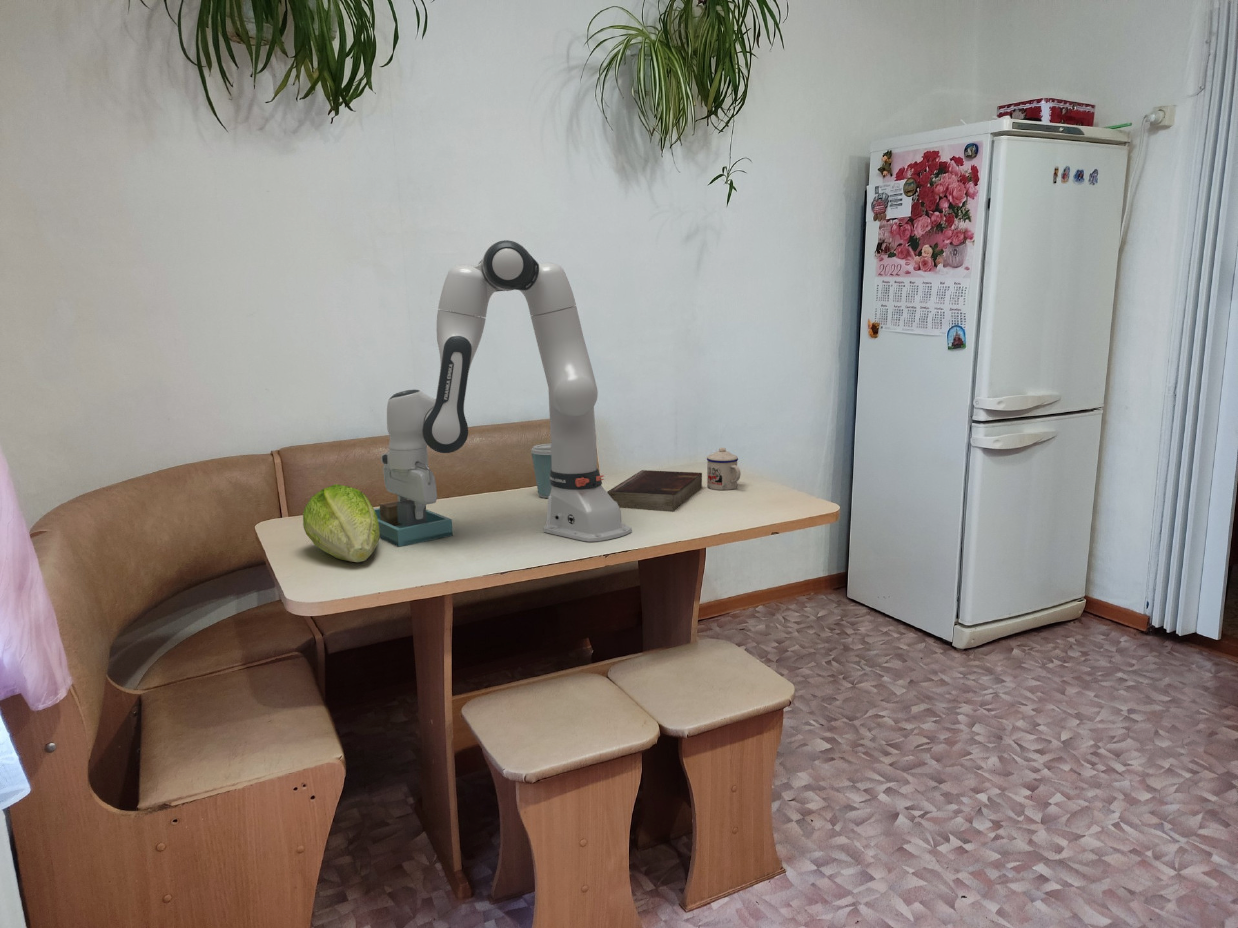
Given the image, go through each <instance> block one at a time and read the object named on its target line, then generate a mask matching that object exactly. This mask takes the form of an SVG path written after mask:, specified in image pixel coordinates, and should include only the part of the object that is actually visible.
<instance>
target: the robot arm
mask: <svg viewBox="0 0 1238 928" xmlns="http://www.w3.org/2000/svg"><path fill="white" fill-rule="evenodd" d="M514 290H515V291H519V292H521V293H522V295H523V296H524V298H525V301H526V303H527V306H528V310H529V311H528V312H529V314H530V315H529V316H530V320H531V323H532V327H533V331H534V335H535V339H536V343H537V347H538V352H539V355H540V358H541V363H542V367H543V371H544V372H543V373H544V377H545V380H546V384H547V387H548V406H549V411H548V412H549V428H550V429H549V430H550V443H551V461H552V469H551V470H550V484H551V485H552V489H551V492H550V495H549V497H548V498H547V508H546V524H545V525H544V526H543V527H542V528H543V530H542V531H543V533H547V534H551V535H556V536H560V537H564V538H569V539H573V540H577V541H583V542H602V541H607V540H612V539H616V538H620V537H624V536H626V535H628V534H630V533H632V527H631V526H630V525H628V524H625V523H623V522H622V513H621V508H619V506H618V503H617V502H616V501H614V500H613V499H612V498H611V497H610V495H609V494H608V493H607V491H606V489H605V488H604V487H603V481H604V480H605V478H604V477H605V475H604V474H602V475H601V473H600V470H599V469H598V467H597V466H598V465H597V464H598V462H597V454H598V453H597V452H598V451H597V431H596V420H595V405H596V403H597V401H598V395H599V394H598V393H599V391H598V386H597V382H596V378H595V375H594V371H593V367H592V363H591V359H590V356H589V352H588V349H587V345H586V342H585V338H584V334H583V328H582V324H581V321H580V320H581V319H580V316H579V312H578V308H577V307H578V306H577V303H576V300H575V295H574V292H573V290H572V287H571V284H570V282H569V279H568V276H567V274H566V272H565V270H564V268H562V266H560V265H559V264H557V263H553V262H543V263H538V261H537V260H536V259H535V258H534V257H533V256H532V255H531V254H530V253H529V251H528V250H527V249H526V248H525V247H524V246H523V245H522V244H519V242H516V241H513V240H510V239H508V240H507V239H505V240H501V241H497V242H495V243H493V244H491V246H489V247H488V248H487V249H486V251H485V252H484V254H483V257H482V259H481V260H480V261H479V263H478V264H476V265H472V264H471V265H470V264H458V265H455V266H453V267H452V268H450V269H449V271H448V272H447V274H446V277H445V280H444V282H443V285H442V289H441V293H440V297H439V301H438V307H437V315H436V342H437V345H438V347H437V348H438V351H439V360H440V367H439V368H440V370H439V376H438V377H439V378H438V385H437V389H436V390H437V391H436V397H435V398H433V397H431V396H429V395H427V394H425V393H424V392H423V391H421V390H420V389H408V390H403V391H399V392H396V393H395V394H393V395H391V397H389V399H388V401H387V405H386V426H387V427H386V428H387V433H388V435H389V443H388V452H385V453H383V454H381V456H380V460H381V464H383V466H382V469H383V470H382V472H383V482H384V487H385V489H386V491H387V492H389V493H390V494H394V495H397V500H398V501H399V502H400V501H406V500H412V501H414V505H415V506H416V507H415V511H413V514H414V518H415V519H422V518H423V510H424V507H425V505H426V506H427V505H432V504H435V503H436V502H437V500H438V493H437V491H438V490H437V483H436V478H435V475H434V472H433V471H432V470H431V469H430V468H429V457H428V456H429V455H428V447H429V448H430V449H432V450H433V451H435V452H436V453H440V454H441V453H442V454H450V453H451V454H452V453H454V452H456V451H458V450H460V449H461V448H462V447H463V446H464V445H465V444H466V442H467V440H468V438H469V426H468V423H467V419H466V416H465V400H466V393H467V388H468V387H467V385H468V380H469V373H470V369H471V365H472V362H473V360H474V357H475V354H476V352H477V350H478V348H479V345H480V342H481V339H482V337H483V333H484V328H485V326H486V319H487V318H486V317H487V312H488V311H487V310H488V306H489V302H490V299H491V297H492V295H493V294H494V293H496V292H497V293H498V292H509V291H514Z"/></svg>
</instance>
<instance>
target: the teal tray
mask: <svg viewBox="0 0 1238 928" xmlns="http://www.w3.org/2000/svg"><path fill="white" fill-rule="evenodd" d="M374 510H375V513H376V515H377V518H378V523H379V530H380V537H379V539H381V540H384V541H385V542H387V543H388V544H389V543H390V544H391V545H394V546H395V547H398V548H401V547H405V546H410V545H413V544H419V543H423V542H427V541H434V540H438V539H442V538H447V537H451V536H454V535H453V533H454V532H453V519H452V518H450V517H447V516H445V515H442V514H440V513H437V512H434V511H432V510H429V509H427V508H426V516H427V523H423V524H418V525H413V526H405V525H398V526H393V525H391V524H388V523H386V522H384V521H382V520H381V519H380V507H379V508H374Z"/></svg>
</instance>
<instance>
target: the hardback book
mask: <svg viewBox="0 0 1238 928" xmlns="http://www.w3.org/2000/svg"><path fill="white" fill-rule="evenodd" d="M702 488H703V472H692V471H666V470H646V469H642V470H640V471H638V472H637V473H635V474H633V475H632V476H630V477H629V478H627V479H625V480H624V481H622V482H620V483H618V484H617V485H615V486H614V487H613V488H611V489H609V490H608V491H606V492H607V493H608V494H609V495H610V497H611V498H612V499H613V500H614V501H616V502H617V503H618V506H619V508H620V509H632V510H643V511H646V510H647V511H657V512H672V513H673V512H675V511H676V510H678V509H679V508H680V507H681V506H683V504H685V503H686V502H687V501H688V500H689V499H691V498H692V496H694V495H695V494H697V492H699V491H701V489H702Z"/></svg>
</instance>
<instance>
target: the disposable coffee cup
mask: <svg viewBox="0 0 1238 928" xmlns="http://www.w3.org/2000/svg"><path fill="white" fill-rule="evenodd" d="M530 453H531V458H532V464H533V470H534V476H535V481H536V488H537V493H538V495H539V497H540V498H543V499H548V497H549V495H550V492H551V489H552V485H551V484H550V470H551V469H552V461H551V442H550V443H543V444H536V445H533V446H532V448H531V450H530Z"/></svg>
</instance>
